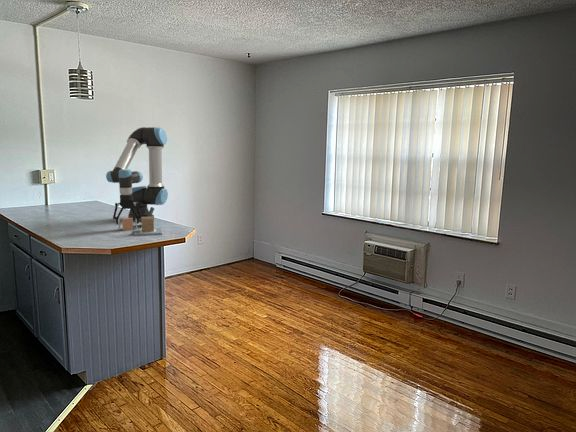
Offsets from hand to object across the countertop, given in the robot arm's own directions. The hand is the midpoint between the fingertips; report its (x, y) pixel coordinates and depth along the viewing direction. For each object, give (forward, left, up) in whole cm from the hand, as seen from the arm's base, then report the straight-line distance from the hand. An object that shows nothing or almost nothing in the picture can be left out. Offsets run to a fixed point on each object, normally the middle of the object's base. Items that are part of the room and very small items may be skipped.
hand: (128, 229), depth 282 cm
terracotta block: (0, 0, 0) cm, 0 cm away
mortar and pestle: (-15, +5, -1) cm, 16 cm away
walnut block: (+5, +17, +1) cm, 18 cm away
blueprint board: (+5, +18, 0) cm, 18 cm away
